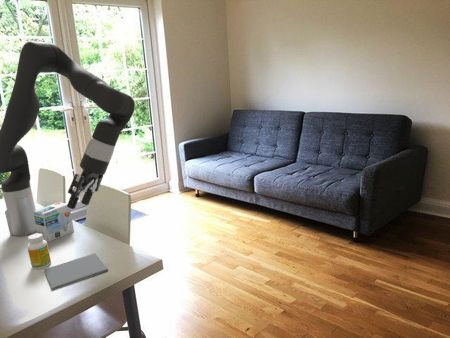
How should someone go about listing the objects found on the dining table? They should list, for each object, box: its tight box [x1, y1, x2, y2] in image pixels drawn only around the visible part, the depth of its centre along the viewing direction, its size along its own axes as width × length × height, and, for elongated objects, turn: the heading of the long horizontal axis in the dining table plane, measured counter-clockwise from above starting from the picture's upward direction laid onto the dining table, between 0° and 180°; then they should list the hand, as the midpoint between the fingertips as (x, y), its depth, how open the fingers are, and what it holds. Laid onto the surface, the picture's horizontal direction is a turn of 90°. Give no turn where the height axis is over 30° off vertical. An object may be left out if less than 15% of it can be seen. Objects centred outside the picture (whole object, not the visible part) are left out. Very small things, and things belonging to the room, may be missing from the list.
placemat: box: [43, 252, 109, 291], centre depth 109 cm, size 15×13×1 cm
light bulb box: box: [33, 201, 75, 243], centre depth 135 cm, size 11×7×11 cm, turn 148°
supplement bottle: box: [27, 232, 52, 270], centre depth 113 cm, size 5×5×10 cm
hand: (77, 205), depth 111 cm, fingers open, 8 cm apart
